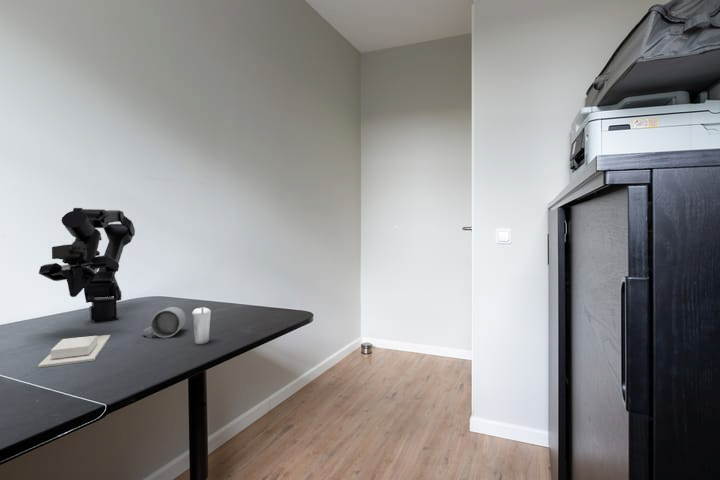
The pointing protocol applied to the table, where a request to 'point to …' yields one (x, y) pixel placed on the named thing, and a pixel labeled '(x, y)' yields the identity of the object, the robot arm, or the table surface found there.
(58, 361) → the mat
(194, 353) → the table surface
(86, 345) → the tile
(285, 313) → the table surface
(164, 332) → the ceramic mug
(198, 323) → the milkshake
